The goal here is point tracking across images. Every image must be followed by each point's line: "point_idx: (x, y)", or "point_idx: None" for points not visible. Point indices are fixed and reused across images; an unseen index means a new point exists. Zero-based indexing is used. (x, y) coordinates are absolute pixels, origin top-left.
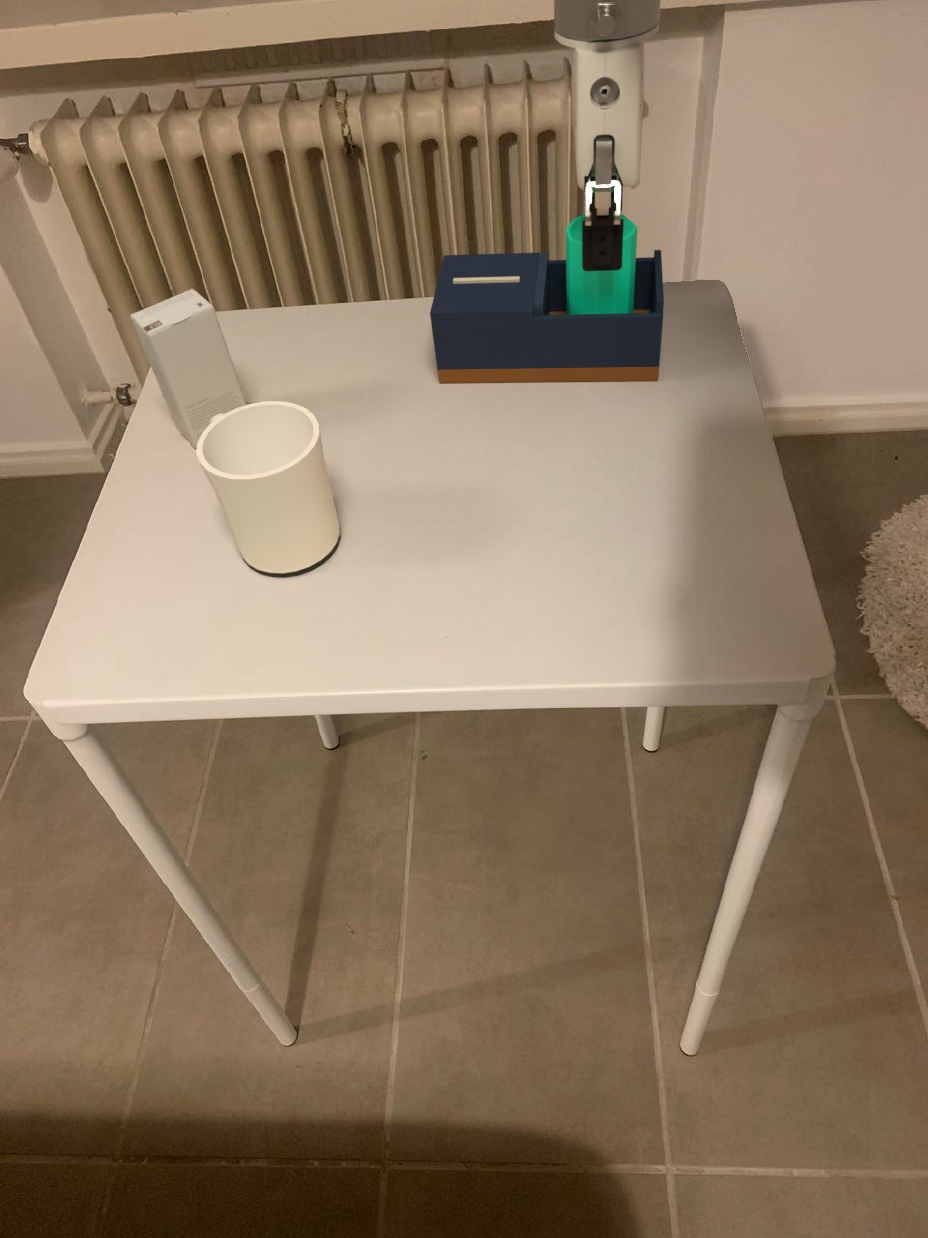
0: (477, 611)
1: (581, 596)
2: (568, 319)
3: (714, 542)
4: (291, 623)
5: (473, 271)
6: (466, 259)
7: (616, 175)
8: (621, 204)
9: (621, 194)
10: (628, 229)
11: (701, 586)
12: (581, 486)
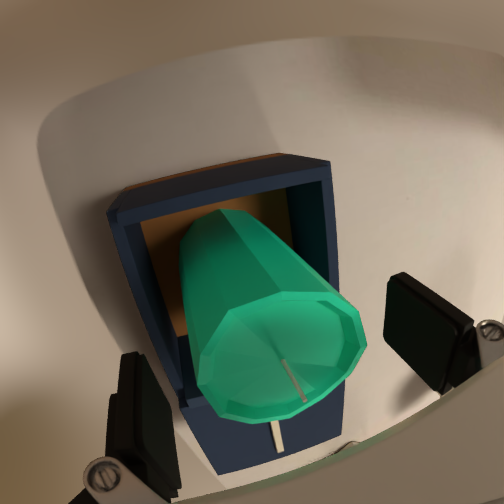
0: (497, 243)
1: (497, 187)
2: None
3: (468, 98)
4: None
5: (252, 446)
6: (223, 460)
7: (147, 440)
8: (134, 363)
9: (135, 384)
10: (260, 310)
11: (490, 112)
12: (434, 206)
